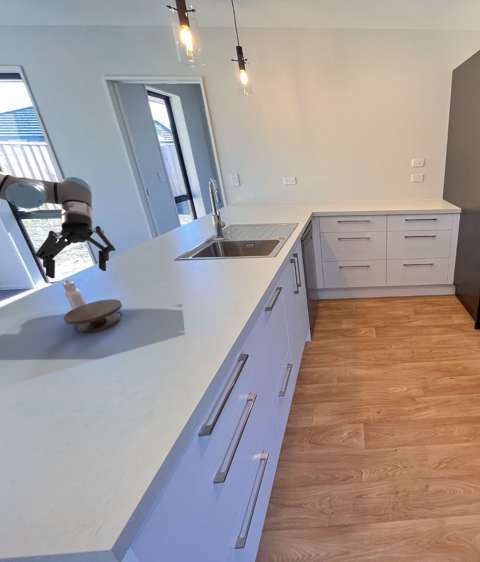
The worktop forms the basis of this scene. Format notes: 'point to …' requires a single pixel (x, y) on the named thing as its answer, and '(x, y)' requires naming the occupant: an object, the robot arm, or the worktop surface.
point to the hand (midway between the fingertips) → (77, 273)
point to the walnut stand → (95, 315)
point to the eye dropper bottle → (73, 295)
